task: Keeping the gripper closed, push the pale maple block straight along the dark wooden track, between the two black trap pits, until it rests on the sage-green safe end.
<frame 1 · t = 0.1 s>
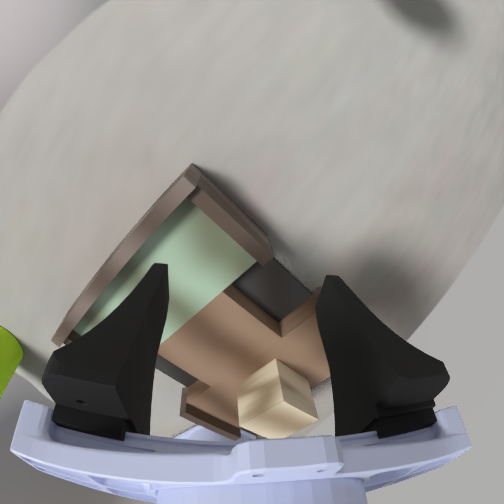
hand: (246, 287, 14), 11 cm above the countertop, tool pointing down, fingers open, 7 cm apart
maple block: (272, 382, 29), point 2 cm above the countertop, touching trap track
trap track: (227, 336, 29), on the countertop
soap dispenser: (3, 341, 28), on the countertop
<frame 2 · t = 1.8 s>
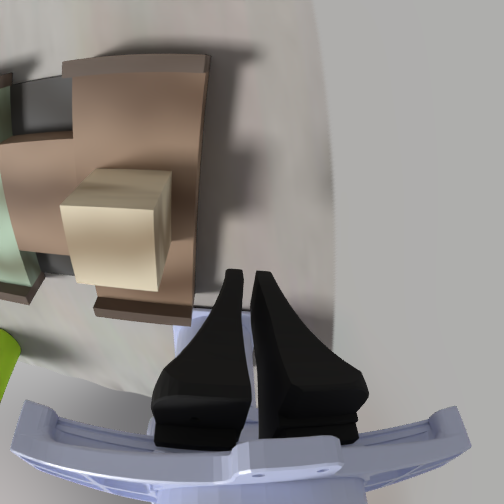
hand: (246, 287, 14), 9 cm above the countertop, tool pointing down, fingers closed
maple block: (133, 205, 19), point 2 cm above the countertop, touching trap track
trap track: (70, 187, 20), on the countertop
soap dispenser: (3, 340, 31), on the countertop
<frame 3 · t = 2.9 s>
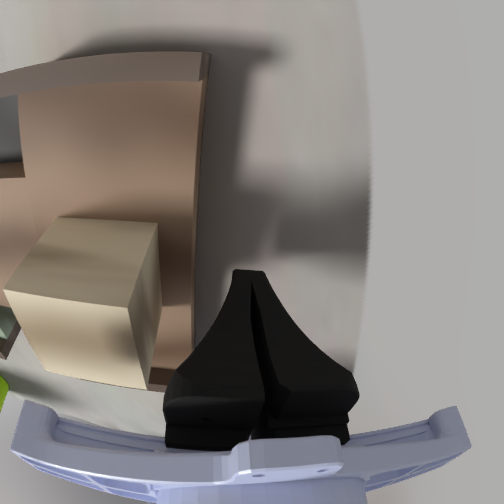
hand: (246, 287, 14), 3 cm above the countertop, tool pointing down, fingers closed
maple block: (110, 264, 14), point 2 cm above the countertop, touching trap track
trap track: (36, 230, 15), on the countertop
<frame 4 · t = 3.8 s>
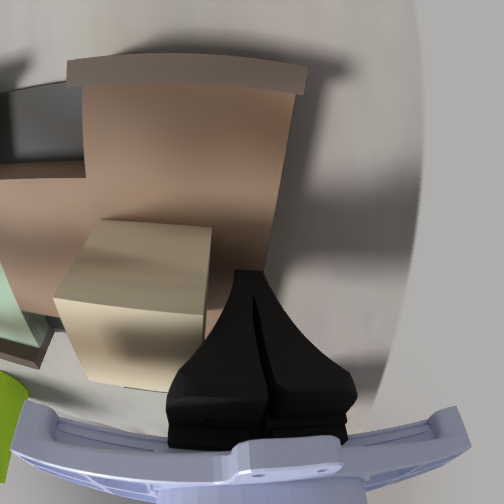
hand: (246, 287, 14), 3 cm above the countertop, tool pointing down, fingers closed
maple block: (156, 269, 14), point 3 cm above the countertop, touching gripper
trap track: (82, 234, 16), on the countertop
soap dispenser: (8, 382, 27), on the countertop
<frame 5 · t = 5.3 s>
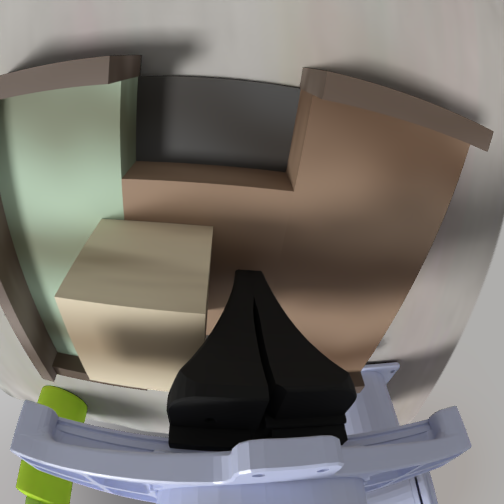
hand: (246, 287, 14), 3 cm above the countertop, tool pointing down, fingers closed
maple block: (157, 268, 14), point 3 cm above the countertop, touching gripper
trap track: (233, 245, 17), on the countertop
soap dispenser: (62, 398, 28), on the countertop
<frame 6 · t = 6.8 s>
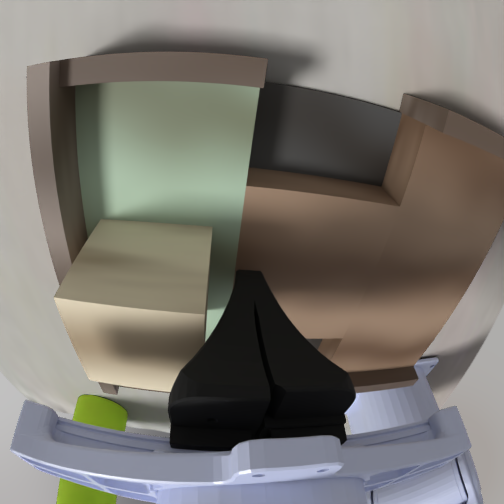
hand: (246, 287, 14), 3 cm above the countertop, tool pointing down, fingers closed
maple block: (156, 268, 14), point 3 cm above the countertop, touching gripper, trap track
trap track: (323, 252, 17), on the countertop
soap dispenser: (100, 406, 28), on the countertop
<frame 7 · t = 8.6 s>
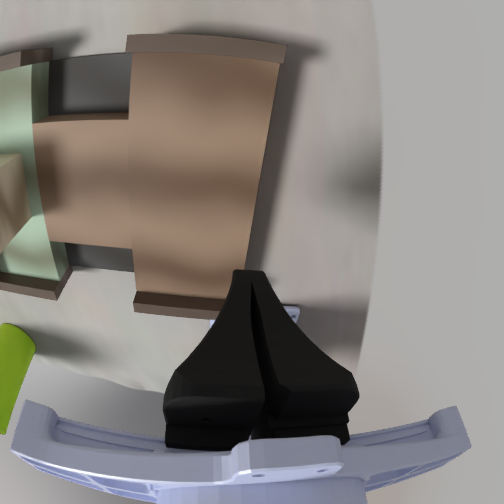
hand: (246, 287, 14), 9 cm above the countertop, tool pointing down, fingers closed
maple block: (2, 186, 17), point 2 cm above the countertop, touching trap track
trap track: (112, 173, 20), on the countertop
soap dispenser: (16, 338, 31), on the countertop
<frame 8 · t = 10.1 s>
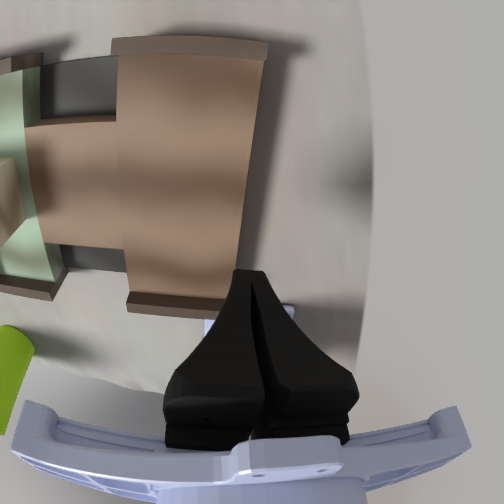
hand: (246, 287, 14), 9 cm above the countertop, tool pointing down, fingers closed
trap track: (104, 175, 20), on the countertop
soap dispenser: (16, 340, 31), on the countertop
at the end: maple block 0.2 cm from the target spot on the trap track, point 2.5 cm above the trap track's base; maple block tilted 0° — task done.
